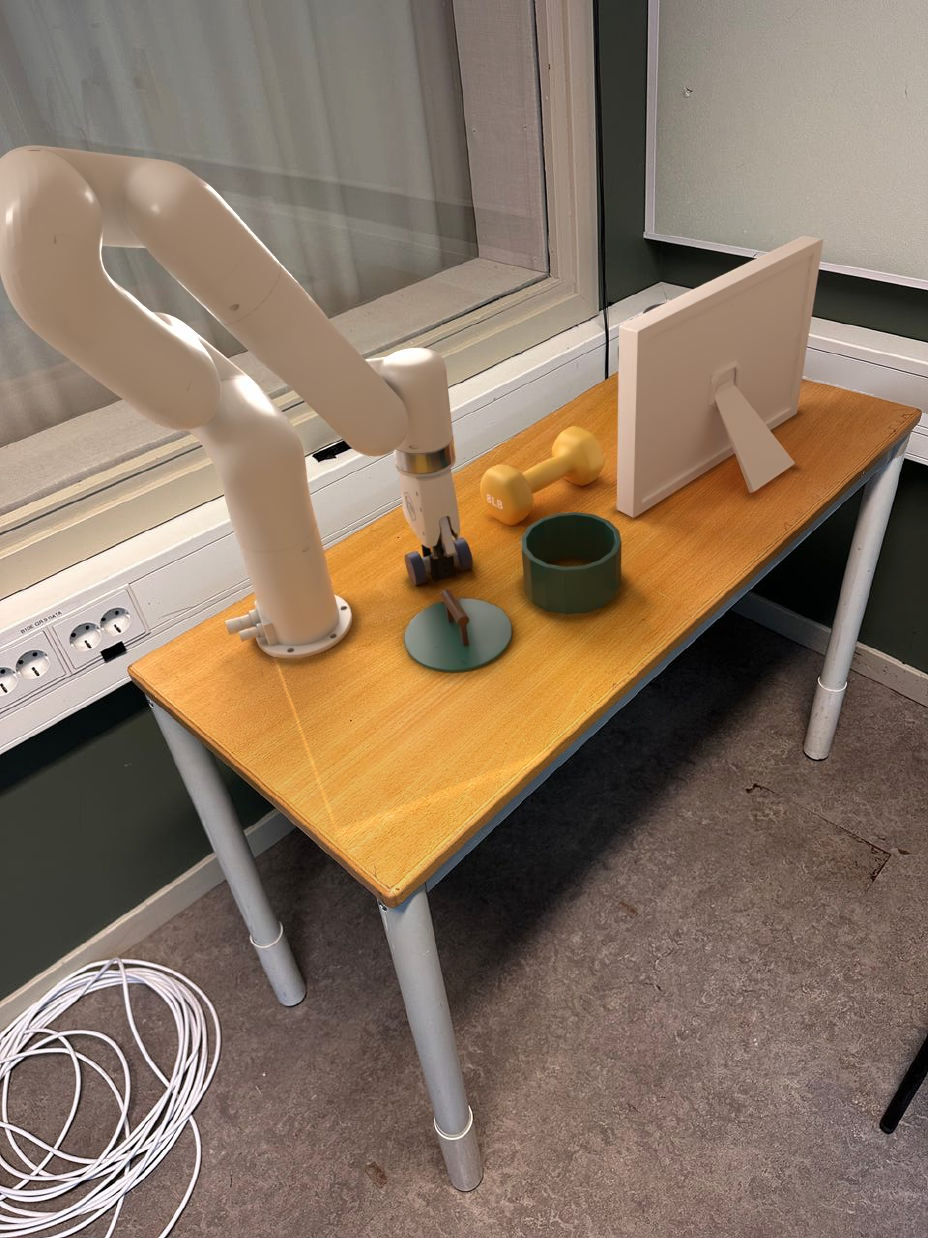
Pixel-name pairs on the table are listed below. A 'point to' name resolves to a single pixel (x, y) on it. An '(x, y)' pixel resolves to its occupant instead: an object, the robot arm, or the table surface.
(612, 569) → the pot
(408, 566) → the toy dumbbell
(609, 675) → the table surface
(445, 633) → the lid
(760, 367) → the picture frame
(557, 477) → the dumbbell
